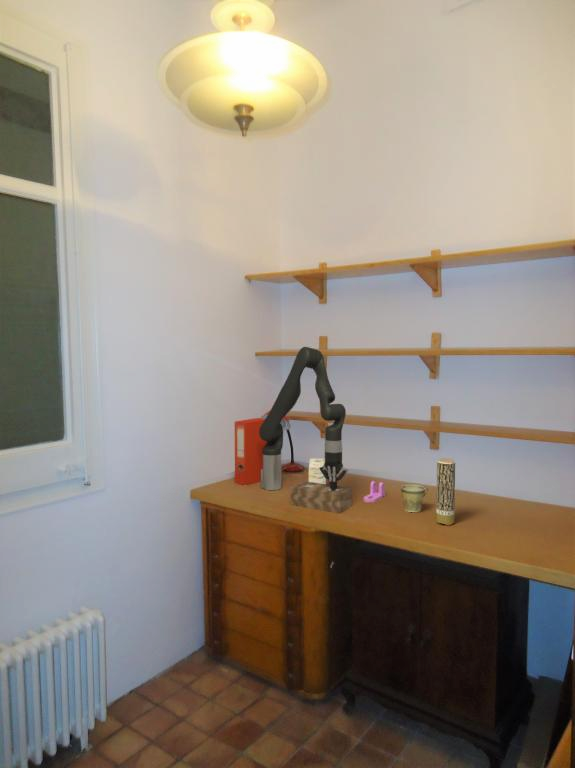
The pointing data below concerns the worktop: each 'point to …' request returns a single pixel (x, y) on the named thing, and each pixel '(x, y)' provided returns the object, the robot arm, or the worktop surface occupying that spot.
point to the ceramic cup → (413, 497)
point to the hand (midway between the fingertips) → (333, 489)
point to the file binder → (248, 451)
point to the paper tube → (445, 491)
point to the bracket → (375, 492)
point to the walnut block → (321, 497)
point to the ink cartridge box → (316, 471)
